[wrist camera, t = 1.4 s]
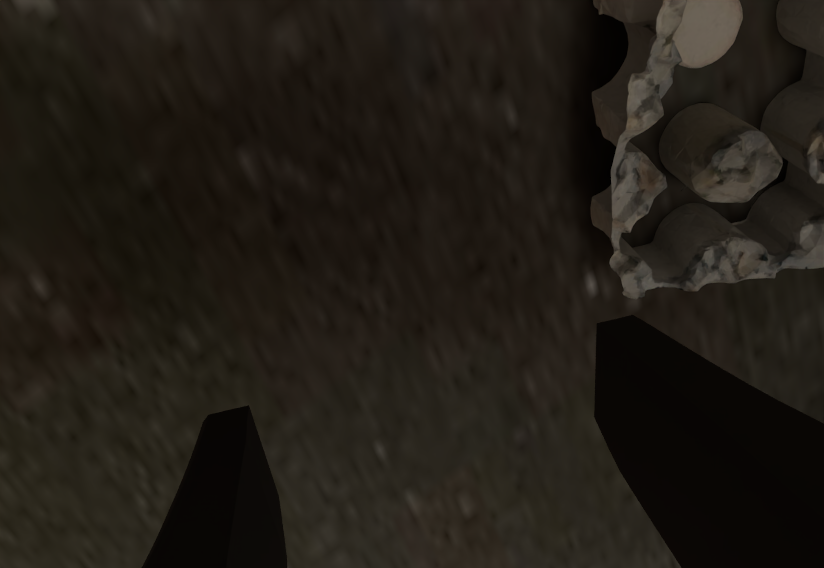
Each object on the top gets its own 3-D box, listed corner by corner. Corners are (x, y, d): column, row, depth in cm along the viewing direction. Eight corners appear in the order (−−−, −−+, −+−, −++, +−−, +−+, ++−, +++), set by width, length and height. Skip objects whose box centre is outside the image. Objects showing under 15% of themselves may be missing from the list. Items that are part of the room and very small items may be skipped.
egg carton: (585, -107, 18) (666, -90, 15) (856, -138, 19) (990, -128, 16) (568, 259, 24) (623, 331, 21) (776, 221, 25) (862, 285, 22)
